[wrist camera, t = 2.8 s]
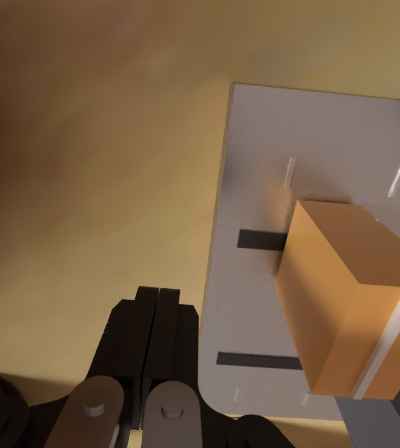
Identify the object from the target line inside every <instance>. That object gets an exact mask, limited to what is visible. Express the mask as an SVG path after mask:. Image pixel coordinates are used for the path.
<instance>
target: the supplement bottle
mask: <svg viewBox="0 0 400 448" xmlns="http://www.w3.org/2000/svg"><path fill="white" fill-rule="evenodd" d="M2 396H17V397H20V395H19V393H18V392H17V391H16V390H15V389H14V388H13V387H12V386H11V385H9V384H8V383H6V382H5V381H3V380H1V379H0V397H2ZM20 398H21V397H20Z"/></svg>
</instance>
